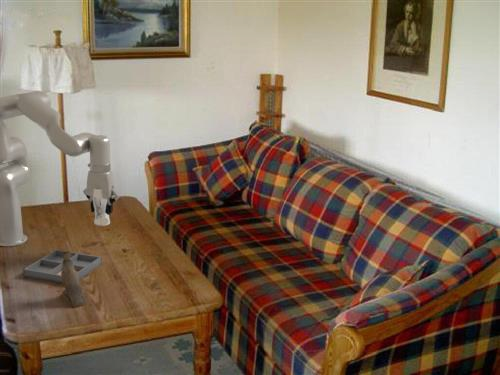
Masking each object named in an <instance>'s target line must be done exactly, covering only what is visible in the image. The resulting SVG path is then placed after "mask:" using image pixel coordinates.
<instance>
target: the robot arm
mask: <svg viewBox="0 0 500 375" xmlns="http://www.w3.org/2000/svg"><path fill="white" fill-rule="evenodd" d="M51 105H52V103H51V98H50V97H49V95H48V94H47V93H46V92H44V91H41V90H35V91H29V92H23V93H18V94H12V95H7V96H2V97H0V166H1V165H5V166H3V167H0V246H1V247H16V246H20V245H22V244H24V243H26V242H27V241H28V236H27V235H26V234H24V231H23V230H24V229H23V218H22V207H21V206H22V205H21V199H20V196H19V193H18V192H17V188H18V187H21V186H23V185H24V184H27V182H28V181H29V180H30V177H31V169H30V163H29V158H28V151H27V147H26V144H25V143H24V142H23V140H21V139H20V138H19V137H17V136H10V134H9V133H10V131H9V128H8V126H7V125H6V123H5V122H4V121H5V120H7V119H13V118H15V117H20V116H25V117H26V118H28V119H29V120H30V121H32V122H33V123H34V124H36V126H38V127H40V128H41V129H43V130H44V131H45V133H46V136H47V137H48V140H49V142H50V143H51V144H52V145H53V146H54V147H55V148H57V149H58V150H59V151H60V152H62V153H63V154H65V155H67V156H68V157H73V158H77V157H79V156H81V155H83V154H87V153H89V163H87V168H89V169H90V170H88V172H87V177H86V178H87V179H86V188H85V189H83V190H82V193H83V194H84V195H85V196H86V198H87V199H88V202H89V203H90V212H91V213H95V210H94V206H93V200H92V197H93V191H94V188H96V189H101V190H102V191H101V192H102V198H104V199H107V203H108V205H107V215H109V216H110V215H111V214H112V213H113V212H114V203H116V201H117V200H118V199H119V198H120V196H121V195H120V194H119V193H118V191H116V189H115V187H116V186H115V179H114V175H113V171H111V144H110V142H111V140H110V137H108V136H107V135H103V134H102V135H99V134H98V135H97V134H93V133H90V132H81V133H79V134H75V135H70V134H69V133H67V131H65V130H64V129H63V128H62V127H61V126H60V121H61V119H62V118H61V114H60V113H59V111H58V110H56V109H54V108H53V107H52V106H51ZM6 164H8V165H6ZM109 198H110V199H109Z"/></svg>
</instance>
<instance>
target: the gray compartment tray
mask: <svg viewBox="0 0 500 375" xmlns="http://www.w3.org/2000/svg"><path fill="white" fill-rule="evenodd" d="M66 251H67V250H61V249H55V250H53V251H52V252H50V253H48V254H47V255H45V256H44V257H42V258H40V259H37V261H35V262H33V263H32V264H30V265H28V266H26V267H25V268H23V277H24V278H28V279H35V280H39V281H45V282H51V283H56V284H59V285H60V284H61V285H63V282H62V276H61V272H62V271H63V266H62V264H63V260H64V259H63V253H64V252H66ZM69 252H70V253H71V258H70V260H72V262H73V265H74V269H76V272H77V275H78V279H79V281H81V279H83V278H85V277H86V276H88V274H90V273H92V272H93V271H94V269H95V270H96V269H97V268H99V267H100V266H101V265H103V257H102V256H97V255H93V254H92V255H91V254H88V253H87V254H85V253H79V252H73V251H69Z"/></svg>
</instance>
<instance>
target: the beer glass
mask: <svg viewBox="0 0 500 375" xmlns="http://www.w3.org/2000/svg"><path fill="white" fill-rule="evenodd" d="M101 191H102V190H101V189H96V188H94V191H93V197H92V200H93V206H94V210H95V211H94V221H93V224H94V225H96V226H97V227H99V226H100V227H101V226H102V227H103V226H104V227H105V226H109V225H110V224H111V220H110V214H109V215H107V205H108V203H107V199H104V198H102V192H101ZM109 199H110V198H109Z"/></svg>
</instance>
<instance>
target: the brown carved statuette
mask: <svg viewBox="0 0 500 375" xmlns="http://www.w3.org/2000/svg"><path fill="white" fill-rule="evenodd" d="M65 251H66V252H64V253H63V259H64V260H63V264H62V266H63V271H62V272H61V276H62V282H63V284H62V285H63V286H64V290H63V291H62V292H61V296H62V297H63V298H64V299H65V300H66V302H67V303H68V304H69V305H70V306H71V307H72V308H80V307H83V306H86V305H87V298H86V297H85V294H84V292H83V289H82V287H81V283H80V280H79V279H78V275H77V272H76V269H74V265H73V262H72V260H70V258H71V253H70V252H71V251H68V250H65Z"/></svg>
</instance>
